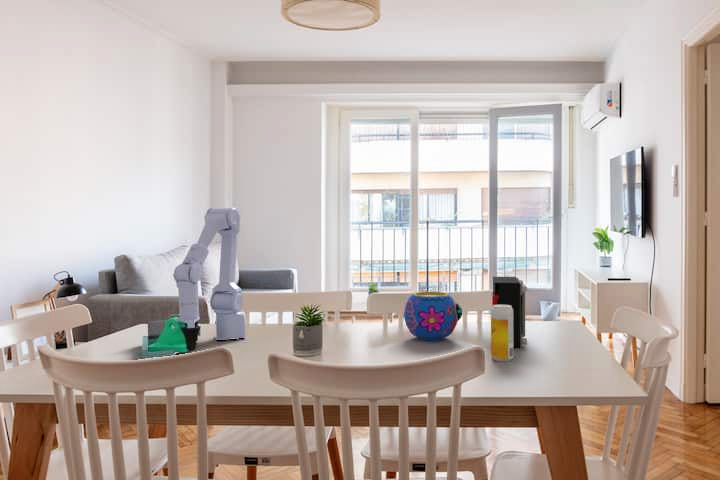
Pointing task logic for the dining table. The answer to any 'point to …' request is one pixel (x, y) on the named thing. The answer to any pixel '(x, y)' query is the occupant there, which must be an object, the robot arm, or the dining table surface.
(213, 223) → the robot arm
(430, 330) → the ceramic pot
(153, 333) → the motor housing
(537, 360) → the dining table surface
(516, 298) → the electrical component
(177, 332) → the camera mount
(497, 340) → the beer can
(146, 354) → the pump bracket
